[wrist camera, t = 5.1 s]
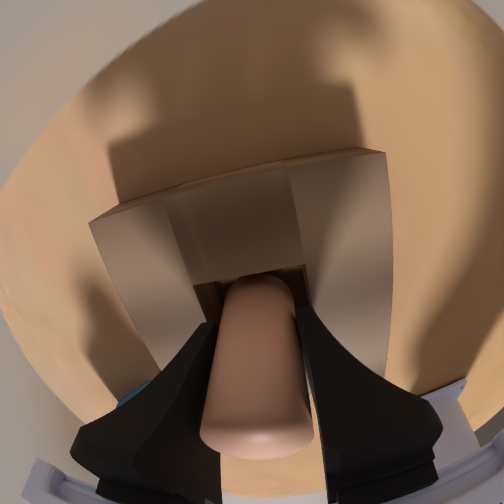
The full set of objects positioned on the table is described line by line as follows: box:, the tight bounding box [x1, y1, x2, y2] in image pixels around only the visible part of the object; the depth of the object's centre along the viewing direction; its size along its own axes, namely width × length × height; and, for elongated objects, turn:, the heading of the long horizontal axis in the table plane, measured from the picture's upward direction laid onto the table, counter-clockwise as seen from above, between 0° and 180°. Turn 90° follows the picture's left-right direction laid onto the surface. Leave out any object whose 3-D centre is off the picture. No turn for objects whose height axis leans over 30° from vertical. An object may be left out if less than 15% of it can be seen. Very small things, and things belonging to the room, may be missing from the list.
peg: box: [200, 274, 314, 460], centre depth 10 cm, size 3×3×7 cm
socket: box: [88, 147, 393, 394], centre depth 13 cm, size 12×12×3 cm
